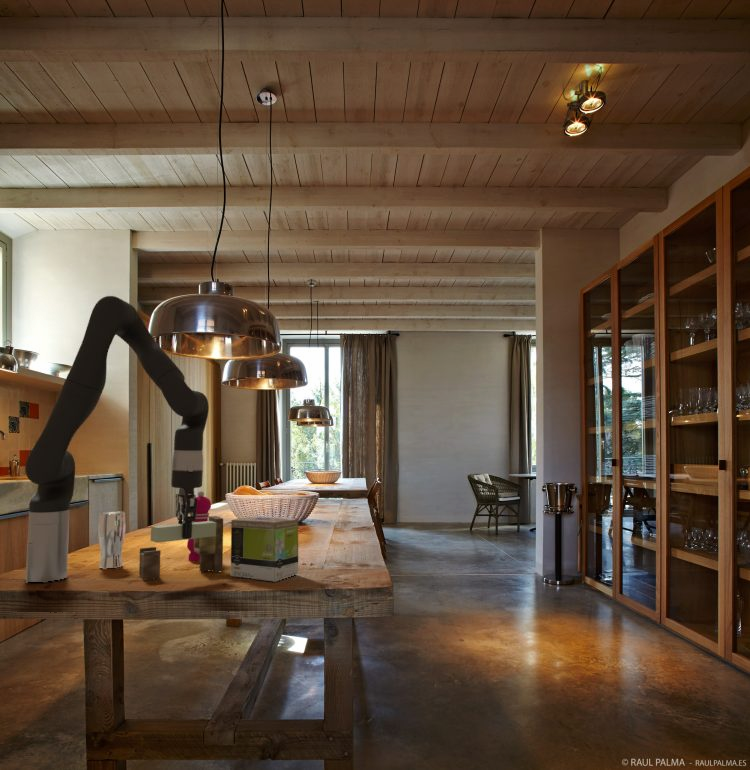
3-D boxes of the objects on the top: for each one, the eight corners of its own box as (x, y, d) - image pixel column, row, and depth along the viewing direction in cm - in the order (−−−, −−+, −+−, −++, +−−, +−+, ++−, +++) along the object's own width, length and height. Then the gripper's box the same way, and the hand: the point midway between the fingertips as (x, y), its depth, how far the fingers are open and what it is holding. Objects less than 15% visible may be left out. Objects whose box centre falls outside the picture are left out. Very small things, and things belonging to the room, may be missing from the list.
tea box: (299, 575, 159) (299, 517, 160) (274, 583, 150) (274, 522, 152) (255, 569, 167) (256, 514, 168) (229, 576, 158) (229, 518, 159)
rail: (157, 542, 147) (158, 527, 148) (150, 540, 150) (151, 526, 150) (215, 536, 159) (216, 522, 159) (208, 534, 161) (209, 521, 161)
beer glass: (125, 563, 175) (126, 510, 176) (123, 568, 169) (125, 513, 170) (98, 565, 173) (100, 511, 174) (95, 570, 166) (97, 514, 168)
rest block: (143, 580, 154) (144, 552, 155) (138, 575, 160) (139, 548, 160) (159, 578, 156) (160, 550, 157) (155, 573, 162) (155, 546, 162)
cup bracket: (199, 574, 161) (200, 520, 162) (193, 569, 167) (194, 517, 168) (222, 571, 164) (223, 518, 165) (215, 567, 170) (216, 515, 171)
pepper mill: (215, 557, 184) (216, 490, 186) (206, 562, 177) (208, 492, 179) (192, 557, 185) (193, 490, 187) (182, 561, 178) (184, 492, 179)
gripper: (166, 467, 160) (163, 533, 159) (178, 469, 148) (175, 542, 146) (195, 467, 164) (192, 532, 162) (209, 469, 151) (206, 540, 150)
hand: (184, 536), depth 154 cm, fingers closed on rail, 4 cm apart
